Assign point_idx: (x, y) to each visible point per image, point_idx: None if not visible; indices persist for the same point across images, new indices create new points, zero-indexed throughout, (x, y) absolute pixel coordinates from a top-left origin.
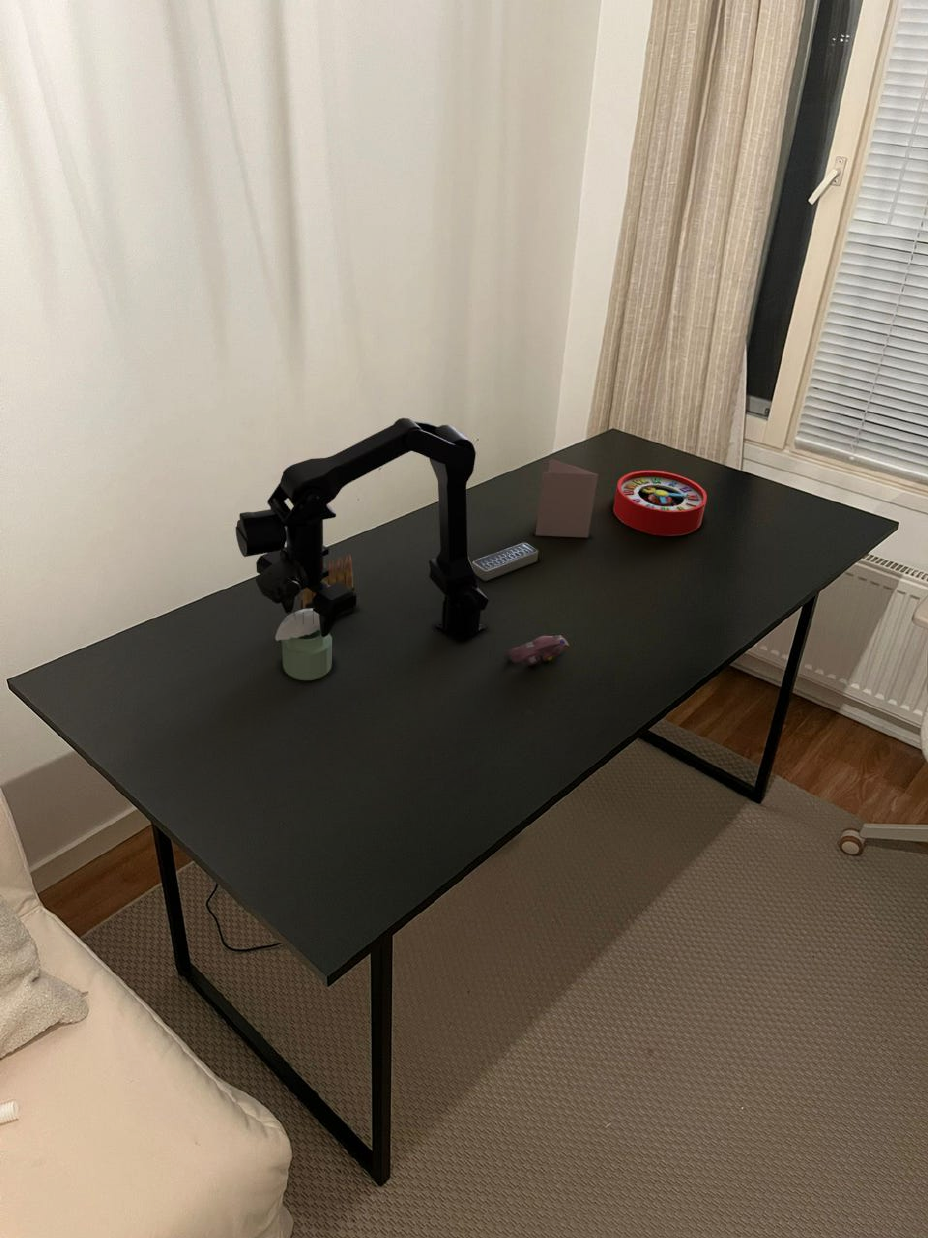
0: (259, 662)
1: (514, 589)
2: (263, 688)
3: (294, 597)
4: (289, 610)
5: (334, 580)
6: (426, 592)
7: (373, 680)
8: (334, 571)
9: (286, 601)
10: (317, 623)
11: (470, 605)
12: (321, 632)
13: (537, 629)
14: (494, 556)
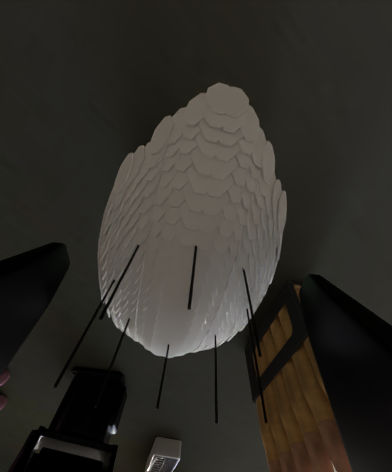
0: (312, 114)
1: (123, 436)
2: (219, 11)
3: (320, 369)
4: (307, 292)
5: (284, 423)
6: (191, 407)
7: (64, 239)
8: (293, 458)
9: (344, 332)
10: (110, 290)
11: (22, 452)
12: (34, 253)
13: (46, 409)
14: (168, 468)
